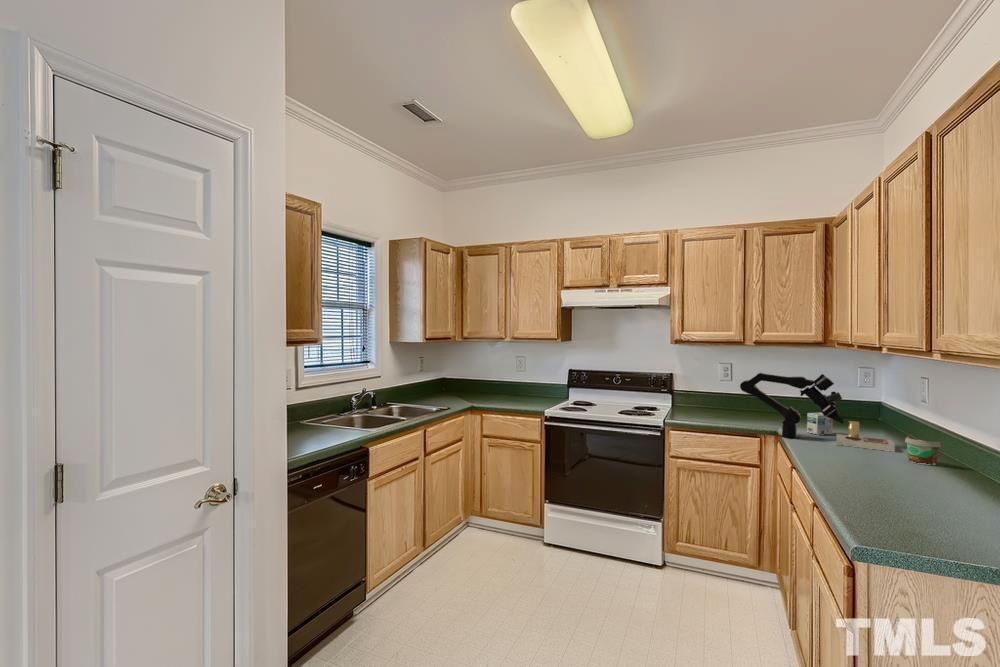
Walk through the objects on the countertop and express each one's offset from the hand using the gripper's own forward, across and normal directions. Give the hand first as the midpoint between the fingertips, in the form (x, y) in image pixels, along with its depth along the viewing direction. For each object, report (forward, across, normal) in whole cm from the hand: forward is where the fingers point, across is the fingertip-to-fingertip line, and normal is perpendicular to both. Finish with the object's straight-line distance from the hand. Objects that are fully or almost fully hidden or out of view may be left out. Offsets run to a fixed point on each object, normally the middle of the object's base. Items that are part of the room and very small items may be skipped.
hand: (843, 421), depth 244 cm
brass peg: (+11, 0, +5) cm, 12 cm away
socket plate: (+14, 0, +2) cm, 14 cm away
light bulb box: (+1, +20, +15) cm, 25 cm away
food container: (+26, -24, -10) cm, 37 cm away
